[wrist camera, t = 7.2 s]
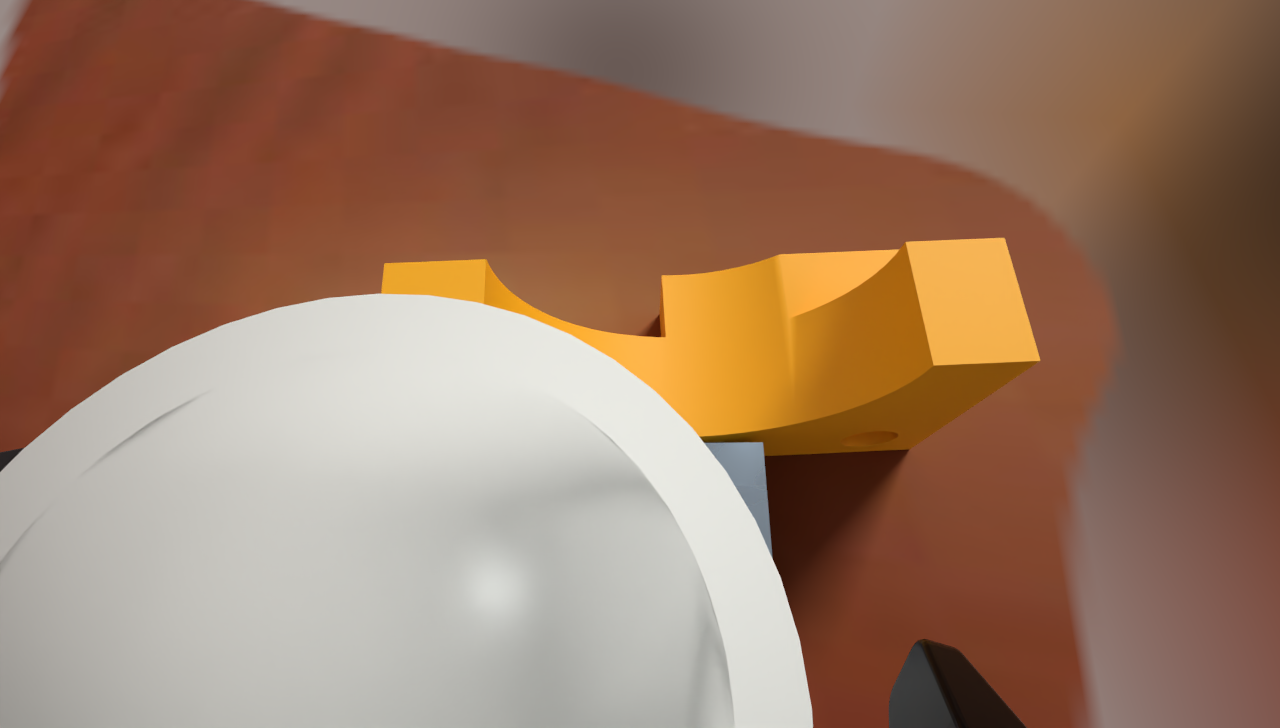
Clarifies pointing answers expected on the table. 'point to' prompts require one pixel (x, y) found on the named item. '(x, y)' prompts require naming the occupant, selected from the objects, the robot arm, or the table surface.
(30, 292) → the table surface
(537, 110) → the table surface
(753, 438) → the pipe clamp
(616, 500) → the white domed pillar
